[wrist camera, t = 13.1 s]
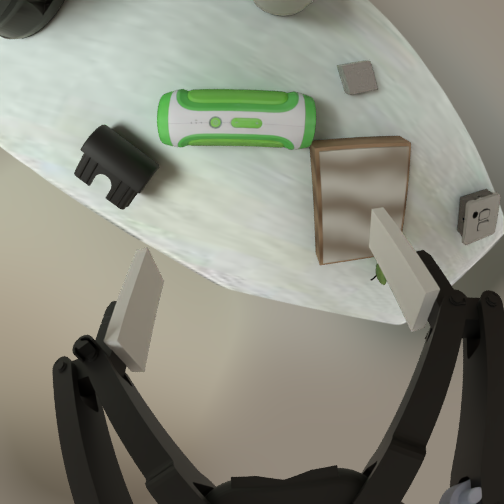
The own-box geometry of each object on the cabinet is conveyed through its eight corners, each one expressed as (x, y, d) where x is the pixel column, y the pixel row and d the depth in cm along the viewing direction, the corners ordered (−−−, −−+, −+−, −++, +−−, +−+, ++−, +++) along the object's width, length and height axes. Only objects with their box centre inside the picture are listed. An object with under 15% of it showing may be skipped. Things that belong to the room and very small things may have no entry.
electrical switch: (467, 204, 38) (505, 198, 35) (455, 189, 42) (492, 184, 39) (462, 246, 44) (497, 239, 41) (452, 230, 48) (487, 223, 45)
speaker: (171, 139, 36) (157, 155, 30) (170, 88, 32) (154, 93, 26) (301, 142, 37) (313, 159, 31) (306, 91, 33) (320, 97, 27)
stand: (309, 141, 37) (315, 148, 34) (399, 135, 36) (411, 143, 33) (315, 252, 48) (320, 266, 45) (390, 241, 47) (399, 253, 44)
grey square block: (336, 65, 31) (342, 65, 29) (362, 60, 30) (370, 60, 28) (344, 92, 33) (350, 94, 31) (370, 87, 32) (377, 89, 30)
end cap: (165, 158, 38) (152, 176, 32) (139, 193, 41) (124, 215, 35) (112, 118, 34) (90, 130, 28) (89, 156, 37) (67, 173, 31)
